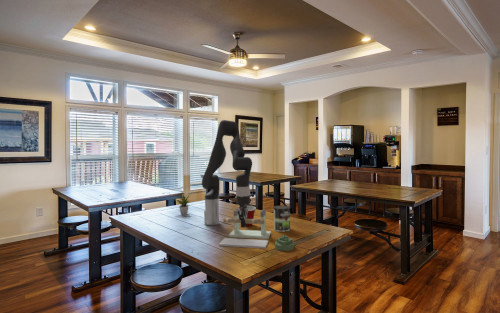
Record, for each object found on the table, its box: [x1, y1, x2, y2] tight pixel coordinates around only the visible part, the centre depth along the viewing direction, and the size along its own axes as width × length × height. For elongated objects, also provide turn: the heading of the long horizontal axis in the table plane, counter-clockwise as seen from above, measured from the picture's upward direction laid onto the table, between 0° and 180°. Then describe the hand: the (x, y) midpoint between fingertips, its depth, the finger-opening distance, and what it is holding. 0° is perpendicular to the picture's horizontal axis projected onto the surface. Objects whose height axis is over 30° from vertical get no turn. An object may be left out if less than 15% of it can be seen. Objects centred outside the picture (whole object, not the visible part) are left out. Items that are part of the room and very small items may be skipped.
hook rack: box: [228, 208, 272, 240], centre depth 175 cm, size 23×10×15 cm, turn 77°
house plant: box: [173, 193, 192, 215], centre depth 233 cm, size 14×14×16 cm
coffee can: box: [273, 204, 291, 233], centre depth 186 cm, size 10×10×14 cm
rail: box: [223, 217, 264, 225], centre depth 160 cm, size 22×2×2 cm, turn 77°
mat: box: [218, 237, 269, 250], centre depth 160 cm, size 25×10×1 cm, turn 77°
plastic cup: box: [245, 205, 257, 227], centre depth 197 cm, size 11×11×12 cm
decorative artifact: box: [274, 234, 295, 252], centre depth 154 cm, size 10×7×10 cm
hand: (243, 226), depth 160 cm, fingers closed on rail, 2 cm apart
